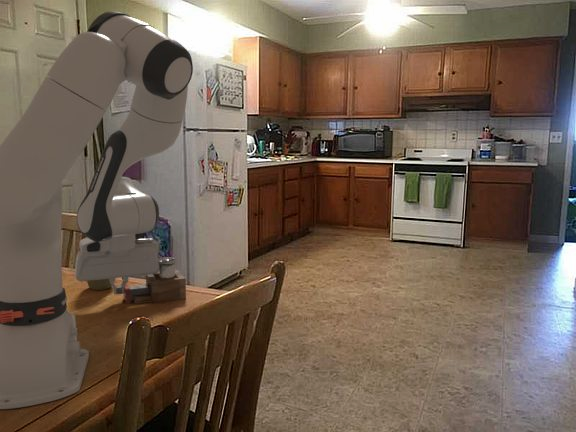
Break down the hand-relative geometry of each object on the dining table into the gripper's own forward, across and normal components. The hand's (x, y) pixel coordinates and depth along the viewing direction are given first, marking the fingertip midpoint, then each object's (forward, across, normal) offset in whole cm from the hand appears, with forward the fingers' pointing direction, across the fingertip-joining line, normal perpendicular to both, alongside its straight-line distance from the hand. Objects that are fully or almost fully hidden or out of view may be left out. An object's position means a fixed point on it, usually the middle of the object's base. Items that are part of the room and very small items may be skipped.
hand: (119, 293), depth 131 cm
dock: (+2, -10, 0) cm, 10 cm away
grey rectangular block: (+2, -5, 0) cm, 6 cm away
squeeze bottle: (+2, +3, -14) cm, 14 cm away
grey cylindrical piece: (+2, -12, +1) cm, 12 cm away
